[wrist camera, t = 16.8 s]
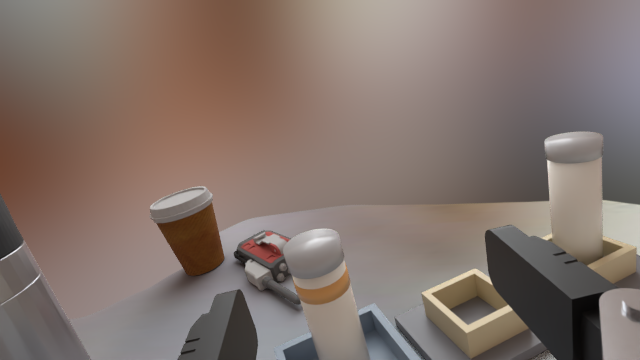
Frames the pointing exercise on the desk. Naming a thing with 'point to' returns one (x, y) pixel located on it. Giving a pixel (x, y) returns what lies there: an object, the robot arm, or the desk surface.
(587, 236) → the cylinder
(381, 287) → the desk surface
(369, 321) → the tray
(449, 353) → the fuse block
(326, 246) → the cylinder
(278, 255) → the walkie-talkie
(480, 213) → the desk surface
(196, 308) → the desk surface
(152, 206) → the disposable coffee cup
